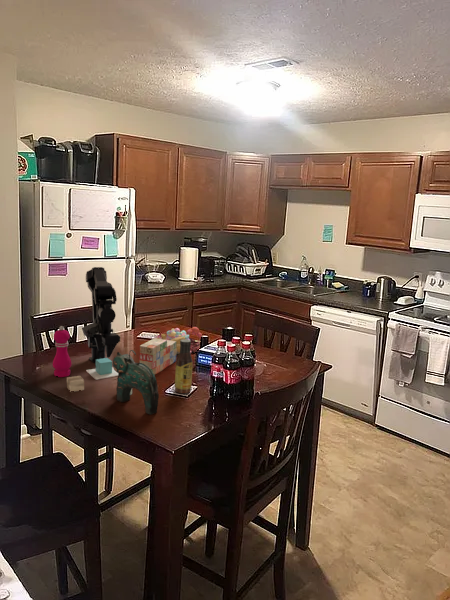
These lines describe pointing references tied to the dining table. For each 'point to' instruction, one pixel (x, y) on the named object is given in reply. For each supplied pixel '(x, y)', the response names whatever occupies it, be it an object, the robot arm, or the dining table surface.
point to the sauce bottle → (183, 368)
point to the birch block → (75, 383)
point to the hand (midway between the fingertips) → (104, 354)
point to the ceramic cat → (136, 381)
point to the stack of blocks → (158, 354)
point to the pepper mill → (61, 353)
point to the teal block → (103, 366)
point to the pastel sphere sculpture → (180, 335)
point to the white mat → (98, 376)
